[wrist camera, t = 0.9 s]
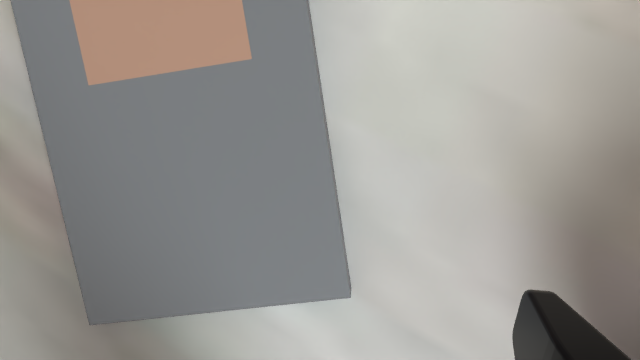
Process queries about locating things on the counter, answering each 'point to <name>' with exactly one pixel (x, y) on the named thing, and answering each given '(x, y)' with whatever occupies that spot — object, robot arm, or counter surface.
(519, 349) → the robot arm
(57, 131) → the slate board
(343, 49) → the counter surface
